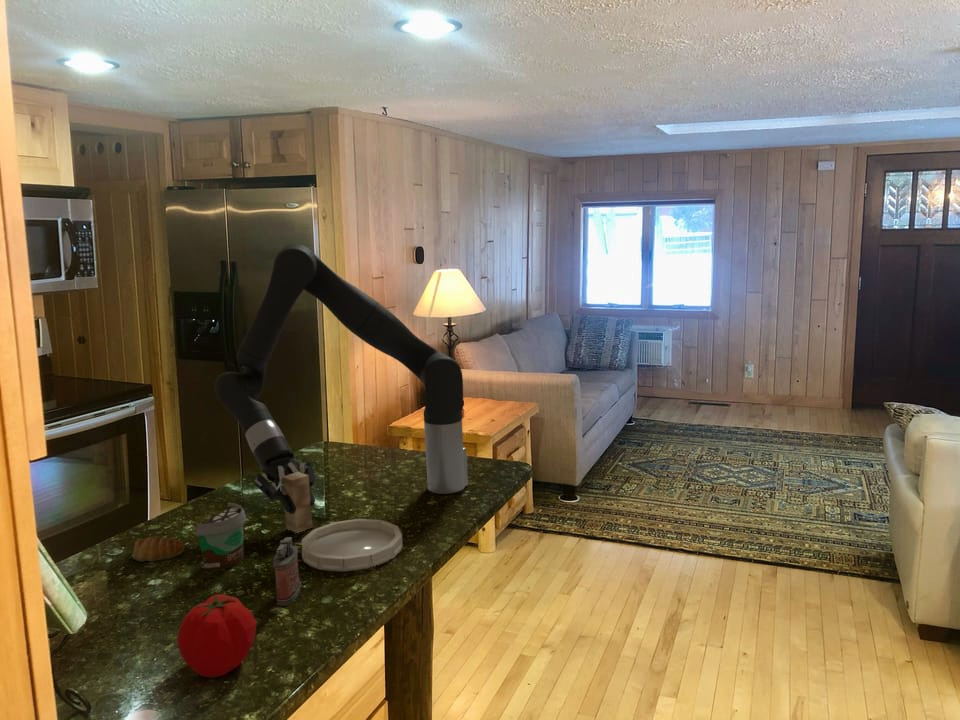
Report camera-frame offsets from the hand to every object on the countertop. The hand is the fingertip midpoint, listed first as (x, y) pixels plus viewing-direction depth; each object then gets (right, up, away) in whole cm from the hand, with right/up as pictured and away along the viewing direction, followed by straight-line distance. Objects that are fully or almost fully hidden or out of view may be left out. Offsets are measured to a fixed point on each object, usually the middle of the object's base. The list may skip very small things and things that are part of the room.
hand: (302, 508), depth 164 cm
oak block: (-1, -5, +2) cm, 5 cm away
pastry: (-28, -8, -8) cm, 30 cm away
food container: (-11, -8, -13) cm, 19 cm away
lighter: (+4, -10, -28) cm, 30 cm away
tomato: (-1, -14, -49) cm, 51 cm away
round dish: (+12, -6, -10) cm, 17 cm away
